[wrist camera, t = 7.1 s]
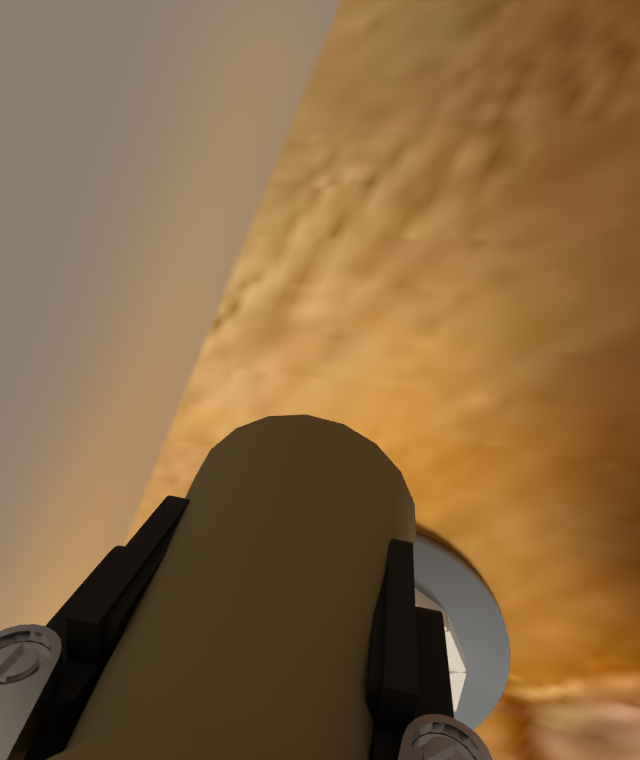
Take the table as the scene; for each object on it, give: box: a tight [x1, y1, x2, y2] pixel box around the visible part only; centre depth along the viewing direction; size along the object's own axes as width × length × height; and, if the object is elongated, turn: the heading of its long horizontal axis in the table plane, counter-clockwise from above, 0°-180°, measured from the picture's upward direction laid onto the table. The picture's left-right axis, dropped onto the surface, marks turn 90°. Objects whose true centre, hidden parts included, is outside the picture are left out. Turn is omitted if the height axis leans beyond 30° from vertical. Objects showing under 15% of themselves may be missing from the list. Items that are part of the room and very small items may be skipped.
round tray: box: [413, 533, 510, 730], centre depth 34 cm, size 18×18×2 cm
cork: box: [46, 415, 416, 760], centre depth 9 cm, size 6×6×11 cm
